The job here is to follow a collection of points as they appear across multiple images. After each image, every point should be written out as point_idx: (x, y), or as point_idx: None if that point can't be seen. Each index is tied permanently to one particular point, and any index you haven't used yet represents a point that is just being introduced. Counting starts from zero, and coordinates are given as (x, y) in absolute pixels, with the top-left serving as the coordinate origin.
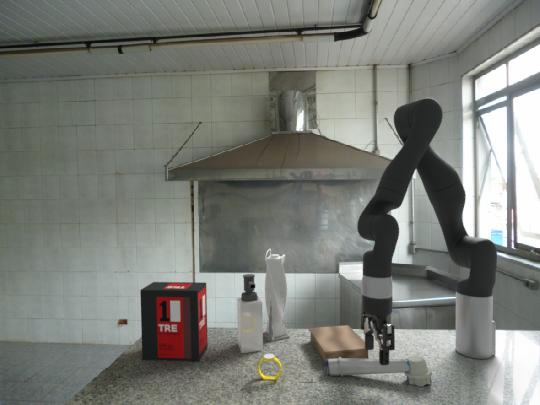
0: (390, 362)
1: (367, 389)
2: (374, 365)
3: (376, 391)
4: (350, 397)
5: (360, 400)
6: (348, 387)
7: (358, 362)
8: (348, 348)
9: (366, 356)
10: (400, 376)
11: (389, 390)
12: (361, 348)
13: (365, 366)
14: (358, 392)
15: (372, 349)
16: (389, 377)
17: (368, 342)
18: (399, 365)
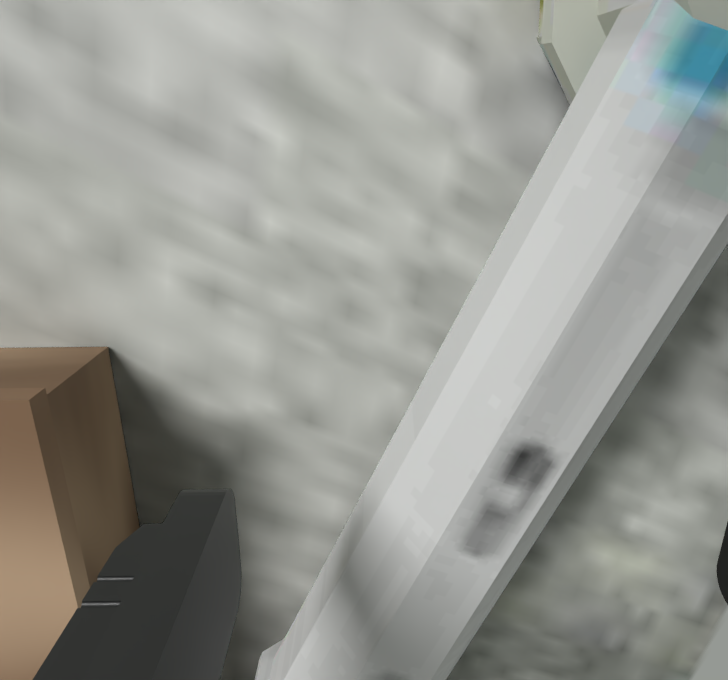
0: (633, 365)
1: (604, 538)
2: (537, 531)
3: (655, 486)
4: (657, 671)
5: (716, 627)
6: (532, 647)
7: (437, 671)
8: None
9: (80, 391)
10: (483, 138)
11: (683, 379)
12: (50, 527)
13: (493, 601)
14: (619, 608)
15: (231, 497)
16: (473, 272)
17: (209, 668)
18: (718, 250)
